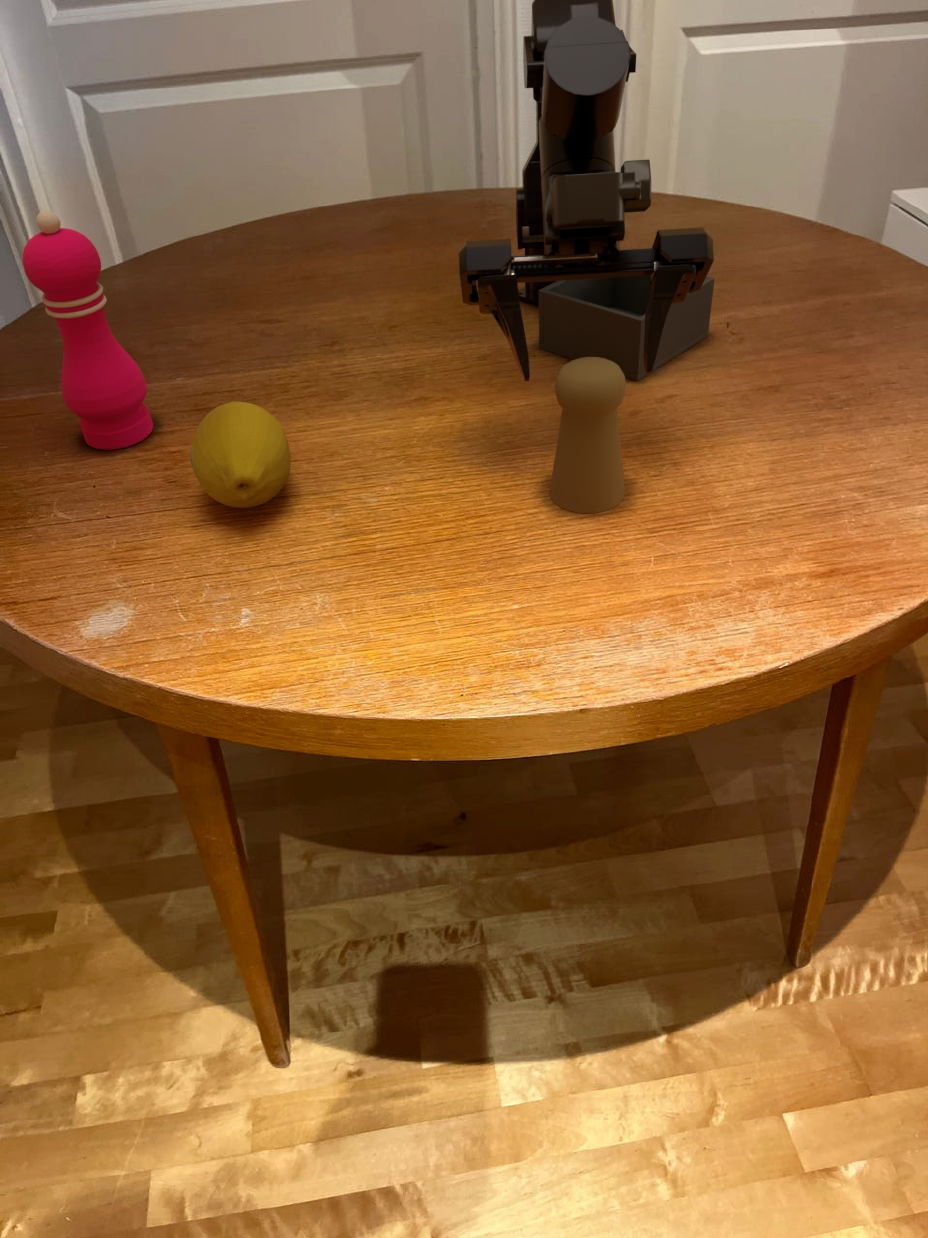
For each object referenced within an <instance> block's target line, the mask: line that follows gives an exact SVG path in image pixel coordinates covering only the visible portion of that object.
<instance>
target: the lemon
mask: <svg viewBox="0 0 928 1238" xmlns="http://www.w3.org/2000/svg"><path fill="white" fill-rule="evenodd" d="M190 464H191V468H192V470H193V473H194V475H195V478H196V479H197V481H198V483H199V485H200V486H201V488H202V489H203V490H204V491H205V493H206V494H207V495H208V496H209V497H211V498H212V499H213V500H214V501H215V502H218V503H219V504H222V505H225V506H227V507H232V508H240V509H243V508H245V509H247V508H249V509H250V508H254V507H258V506H260V505H263V504H265V503H267V502H269V501H270V500H272V499H273V498H275V496H277V495H278V494H279V493H280V492H281V490H282V489H283V488H284V486H285V484H286V483H287V481H288V479H289V476H290V474H291V465H292V457H291V450H290V445H289V441H288V437H287V434H286V432H285V430H284V428H283V426H282V424H281V423H280V422H279V420H278V419H277V418H276V417H275V416H274V415H273V414H272V413H270V412H269V411H267V410H266V409H265V408H263V407H261V406H259V405H257V404H255V403H251V402H244V401H229V402H227V403H224V404H221V405H218V406H216V407H215V408H214V409H212V410H211V411H209V412H208V413H207V414H206V415H205V416H204V417H203V418H202V420H201V421H200V423H199V424H198V425H197V428H196V431H195V432H194V436H193V439H192V443H191V446H190Z"/></svg>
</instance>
